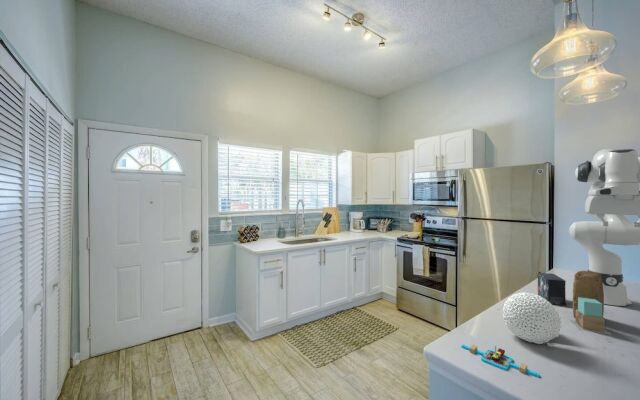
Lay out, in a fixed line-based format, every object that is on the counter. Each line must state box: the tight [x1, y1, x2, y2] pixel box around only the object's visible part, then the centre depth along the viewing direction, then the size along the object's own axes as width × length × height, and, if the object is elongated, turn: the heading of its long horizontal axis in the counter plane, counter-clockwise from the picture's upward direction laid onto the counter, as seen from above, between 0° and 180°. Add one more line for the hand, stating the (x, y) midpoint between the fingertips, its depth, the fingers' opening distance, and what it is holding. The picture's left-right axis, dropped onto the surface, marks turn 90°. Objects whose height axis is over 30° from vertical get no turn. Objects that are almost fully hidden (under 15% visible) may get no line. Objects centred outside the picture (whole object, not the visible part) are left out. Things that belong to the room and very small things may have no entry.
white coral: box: [502, 291, 562, 345], centre depth 96 cm, size 20×18×16 cm
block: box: [572, 270, 605, 319], centre depth 109 cm, size 11×8×20 cm
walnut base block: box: [575, 310, 606, 332], centre depth 101 cm, size 6×6×5 cm
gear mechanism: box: [461, 344, 540, 378], centre depth 82 cm, size 20×5×9 cm
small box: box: [537, 272, 567, 307], centre depth 132 cm, size 13×7×12 cm, turn 159°
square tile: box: [569, 319, 613, 336], centre depth 101 cm, size 9×9×1 cm
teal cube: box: [578, 297, 602, 318], centre depth 101 cm, size 5×5×5 cm
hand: (621, 226), depth 103 cm, fingers open, 8 cm apart
